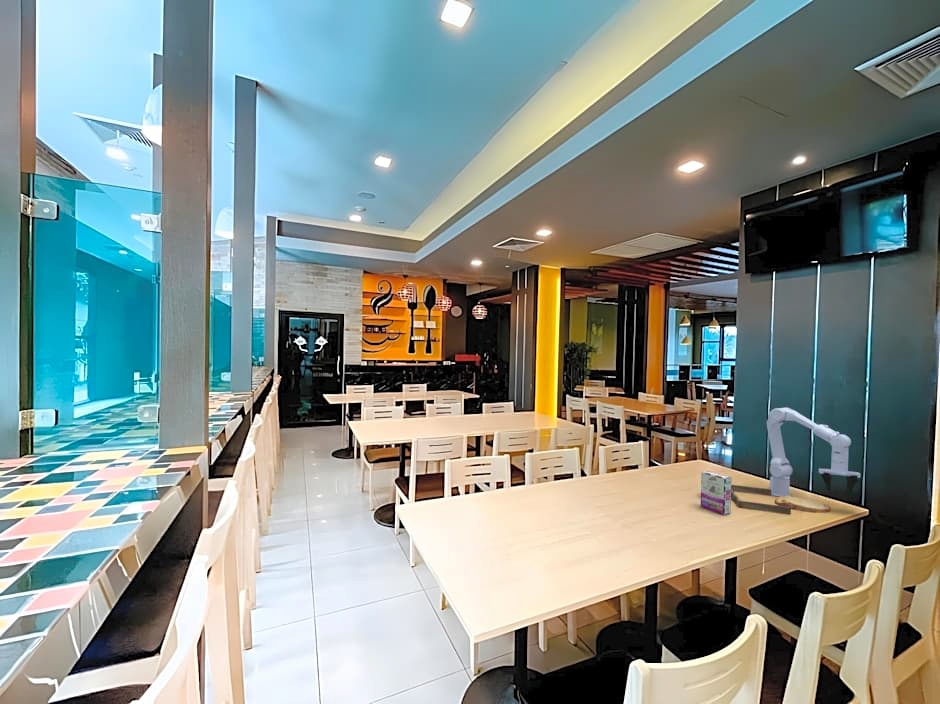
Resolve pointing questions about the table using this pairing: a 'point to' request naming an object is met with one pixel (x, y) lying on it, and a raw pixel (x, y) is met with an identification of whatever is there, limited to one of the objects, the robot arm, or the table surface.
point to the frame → (757, 505)
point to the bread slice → (802, 504)
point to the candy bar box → (716, 492)
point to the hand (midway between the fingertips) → (838, 491)
